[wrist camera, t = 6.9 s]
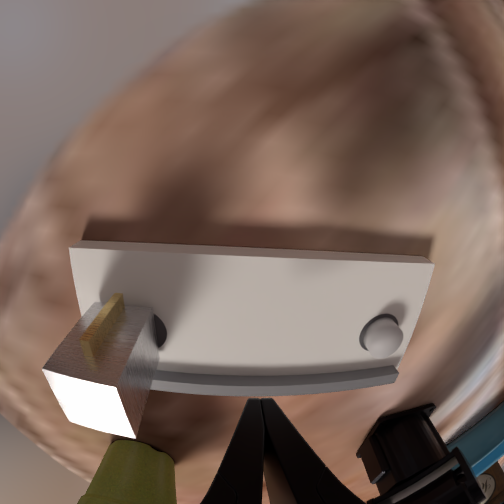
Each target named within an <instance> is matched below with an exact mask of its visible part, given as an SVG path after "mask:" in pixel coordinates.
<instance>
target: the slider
mask: <svg viewBox="0 0 504 504" xmlns="http://www.w3.org/2000/svg"><path fill="white" fill-rule="evenodd" d="M159 359H160V358H159V351H158V345H157V338H156V330H155V323H154V314H153V308H150V307H139V306H129V305H124V299H123V293H114V294H113V295H112V297H111V298H110V299H109V300H108V302H107V303H102V302H94V303H93V304H92V305H91V306H90V308H89V309H88V310H87V311H86V312H85V314H84V315H83V316H82V317H81V318H80V320H79V321H78V322H77V323H76V325H75V326H74V327H73V328H72V330H71V331H70V332H69V333H68V335H67V336H66V337H65V338H64V340H63V341H62V342H61V344H60V345H59V346H58V348H57V349H56V350H55V352H54V353H53V354H52V356H51V357H50V358H49V360H48V361H47V362H46V364H45V365H44V366H43V368H42V370H43V372H44V374H45V376H46V378H47V380H48V382H49V384H50V386H51V388H52V390H53V392H54V394H55V396H56V398H57V400H58V402H59V404H60V405H61V407H62V409H63V411H64V412H65V414H66V416H67V417H68V419H69V421H70V422H73V423H76V424H80V425H83V426H86V427H89V428H93V429H97V430H100V431H104V432H108V433H112V434H116V435H121V436H125V437H130V438H135V439H136V437H137V433H138V430H139V426H140V422H141V419H142V415H143V412H144V408H145V405H146V401H147V398H148V395H149V391H150V388H151V385H152V382H153V378H154V375H155V372H156V369H157V366H158V363H159Z"/></svg>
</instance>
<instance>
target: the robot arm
mask: <svg viewBox="0 0 504 504" xmlns="http://www.w3.org/2000/svg"><path fill="white" fill-rule="evenodd" d="M435 408H436V406H435V404H434V403H431V404H428V405H425V406H422V407H419V408H415V409H412V410H409V411H405V412H401V413H397V414H394V415H390V416H385V417H382V418H380V419H379V420H378V421H377V422H376V424H375V426H374V427H373V429H372V431H371V432H370V434H369V435H368V437H367V438H366V440H365V441H364V443H363V444H362V446H361V447H360V449H359V450H358V452H357V453H356V456H357V458H362V461H363V464H364V466H365V469H366V472H367V474H368V477H369V480H370V483H372V484H376V485H377V488H378V490H379V493H380V496H378V497H376V498H374V499H370V500H368V501H367V504H480V503H481V502H483V501H484V500H485V499H487V498H486V495H485V493H484V491H483V489H482V487H481V485H480V483H479V481H478V479H477V477H476V475H475V473H474V471H473V469H472V467H471V466H470V464H469V462H468V461H467V459H466V457H465V456H464V454H463V453H462V451H461V450H460V449H459V448H458V447H457V446H456V447H455V448H454V449H452V451H451V452H449V450H448V448H447V447H446V445H445V443H444V442H443V440H442V438H441V437H440V435H439V433H438V432H437V430H436V428H435V427H434V425H433V423H432V422H431V420H430V419H429V417H430V415H431V414H432V412H433V411H434V409H435ZM458 463H459V465H460V466H459V467H458V468H456V469H455V470H454V471H453V470H452V469H451V468H452V467H454V466H455V465H456V464H458ZM325 466H326V465H325V464H324V463H323V461H322V460H321V459H320V458H319V457H318V455H317V454H316V453H315V452H314V451H313V449H312V448H311V447H310V446H309V445H308V443H307V442H306V441H305V440H304V438H303V437H302V436H301V435H300V433H299V432H298V431H297V429H296V428H295V427H294V426H293V424H292V423H291V422H290V420H289V419H288V418H287V417H286V415H285V414H284V413H283V411H282V410H281V409H280V407H279V406H278V405H277V403H276V402H275V401H274V399H272V398H261V399H259V398H249V399H248V400H247V402H246V405H245V407H244V410H243V412H242V415H241V417H240V420H239V422H238V425H237V427H236V429H235V432H234V434H233V437H232V439H231V441H230V444H229V446H228V449H227V451H226V453H225V455H224V458H223V460H222V462H221V465H220V467H219V469H218V471H217V474H216V476H215V478H214V480H213V482H212V484H211V486H210V488H209V490H208V492H207V494H206V495H205V497H204V499H203V500H202V502H201V503H200V504H262V487H263V472H264V477H265V481H266V486H267V491H268V496H269V500H270V504H366V503H365V502H363V501H362V500H361V499H360V498H358V497H357V496H356V495H355V494H354V493H352V492H351V491H350V490H349V489H348V488H347V487H346V486H344V485H343V484H342V483H341V482H340V481H339V480H338V479H337V477H336V476H335V475H334V474H333V473H332V472H331V471H330V470H329V468H328V467H325ZM442 474H443V475H442ZM433 480H434V481H433ZM395 502H396V503H395ZM500 504H504V501H503V502H502V503H500Z"/></svg>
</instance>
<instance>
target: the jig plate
mask: <svg viewBox="0 0 504 504" xmlns="http://www.w3.org/2000/svg"><path fill="white" fill-rule="evenodd" d="M69 252H70V259H71V266H72V272H73V278H74V283H75V288H76V293H77V298H78V303H79V307H80V311H81V316H83V315H84V314H85V312H86V311H87V310H88V309H89V308H90V306H91V305H92V304H93V303H94V302H102V303H107V302H108V300H109V299H110V298H111V297H112V295H113V294H114V293H123V299H124V305H129V306H139V307H150V308H153V314H154V323H155V330H156V338H157V345H158V351H159V358H160V359H159V363H158V366H157V369H156V372H155V375H154V378H153V382H152V385H151V388H150V389H152V390H160V391H168V392H177V393H188V394H201V395H218V396H288V395H305V394H318V393H328V392H338V391H346V390H353V389H361V388H367V387H373V386H379V385H385V384H390V383H394V382H395V380H396V378H397V376H398V374H399V372H398V371H397V369H398V367H399V365H400V362H401V360H402V358H403V356H404V353H405V351H406V348H407V346H408V344H409V341H410V339H411V336H412V334H413V331H414V328H415V326H416V323H417V320H418V317H419V314H420V312H421V309H422V306H423V303H424V300H425V296H426V293H427V290H428V287H429V283H430V280H431V276H432V273H433V269H434V265H435V264H434V263H433V262H431V261H430V260H428V259H426V258H425V257H423V256H411V255H392V254H373V253H353V252H334V251H313V250H293V249H272V248H251V247H229V246H207V245H184V244H161V243H137V242H112V241H87V240H80V241H79V242H77V243H76V244H74V245H72V246H71V247H69Z"/></svg>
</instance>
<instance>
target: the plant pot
mask: <svg viewBox="0 0 504 504" xmlns="http://www.w3.org/2000/svg"><path fill="white" fill-rule="evenodd" d="M77 504H177V500H176V488H175V469H174V461H173V460H172V458H171V457H170V456H169V455H167V454H166V453H164V452H158V451H156V450H154V449H153V448H151V447H150V446H149V445H147V444H144V443H141V442H136V441H130V440H117V441H115V442H114V443H112V444H111V445H110V446H109V447H108V449H107V451H106V453H105V455H104V457H103V460H102V462H101V464H100V466H99V468H98V470H97V472H96V474H95V476H94V478H93V480H92V482H91V484H90V486H89V488H88V489H87V491H86V494H85V495H83V496H81V498H80V500H79V501H78V503H77Z"/></svg>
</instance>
